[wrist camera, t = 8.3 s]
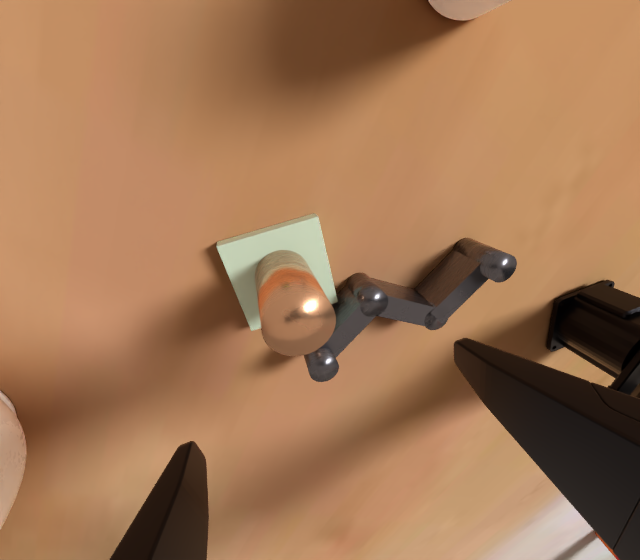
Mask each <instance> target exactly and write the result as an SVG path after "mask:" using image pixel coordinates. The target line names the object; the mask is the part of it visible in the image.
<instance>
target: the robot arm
mask: <svg viewBox="0 0 640 560" xmlns="http://www.w3.org/2000/svg"><path fill="white" fill-rule="evenodd" d="M613 287H614V282H613V281H610V280H606V281H603V282H600V283H597V284H595V285H592V286H589V287H587V288H584V289H581V290H579V291H576V292H573V293H571V294H568V295H565V296H562V297H560V298H558V299H557V300H556V301H555V303H554V308H553V313H552V319H551V325H550V331H549V336H548V342H547V349H548V350H550V351H555V350H558V349H560V348H563V347H566V348H567V349H569V350H571V351H572V352H574V353H575V354H577V355H579V356H580V357H582V358H583V359H585V360H587V361H588V362H590V363H592V364H593V365H595V366H596V367H598V368H600V369H601V370H603V371H604V372H606V373H608V374H609V375H611V376H613V377H614V378H616V379H615V380H614V382H613V383H612V384H611V385H610V386H608V387H604V386H601V385H598V384H595V383H590V382H589V381H587V380H584V379H581V378H578V377H575V376H573V375H570V374H567V373H564V372H561V371H559V370H556V369H553V368H550V367H547V366H545V365H542V364H539V363H536V362H533V361H530V360H528V359H525V358H522V357H519V356H516V355H514V354H511V353H508V352H505V351H502V350H499V349H497V348H494V347H491V346H488V345H485V344H483V343H480V342H477V341H474V340H471V339H468V338H463V339H460V340H457V341H455V342H454V361H455V363H456V365H457V367H458V368H459V370H460V371H461V372H462V374H463V375H464V377H465V378H466V379H467V381H468V382H469V384H470V385H471V386H472V388H473V389H474V391H475V392H476V393H477V395H478V396H479V398H480V399H481V400H482V402H483V403H484V404H485V405H486V407H487V408H488V409H489V410H490V411H491V413H492V414H493V415H494V416H495V417H496V418H497V419H498V421H499V422H500V423H501V424H502V425H503V426H504V427H505V429H506V430H507V431H508V432H509V433H510V434H511V435H512V437H513V438H514V439H515V440H516V441H517V442H518V443H519V445H520V446H521V447H522V448H523V449H524V450H525V451H526V453H527V454H528V455H529V456H530V457H531V458H532V459H533V461H534V462H535V463H536V464H537V465H538V466H539V467H540V469H541V470H542V471H543V472H544V473H545V474H546V476H547V477H548V478H549V479H550V480H551V481H552V482H553V484H554V485H555V486H556V487H557V488H558V489H559V490H560V492H561V493H562V494H563V495H564V496H565V497H566V498H567V500H568V501H569V502H570V503H571V504H572V505H573V506H574V508H575V509H576V510H577V511H578V512H579V513H580V514H581V516H582V517H583V518H584V519H585V520H586V521H587V522H588V524H589V525H590V526H591V527H592V528H593V529H594V530H595V532H596V533H597V534H598V535H599V536H600V537H601V539H602V540H603V541H604V542H605V543H606V544H607V545H608V547H609V548H610V549H612V550H613V553H614V554H615V555H616V556H617V557H618V558H619V559H620V560H640V298H638V297H636V296H633V295H631V294H628V293H625V292H623V291H620V290H618V289H615V288H613ZM208 520H209V514H208V489H207V468H206V459H205V456H204V455H203V453H202V452H201V450H200V449H199V447H198V446H197V444H196V443H195V442H194V441H190V442H188V443H185V444H182V445H180V446H179V447H178V448H177V450H176V452H175V453H174V455H173V457H172V458H171V460H170V461H169V463H168V465H167V466H166V468H165V470H164V471H163V473H162V475H161V476H160V478H159V479H158V481H157V483H156V484H155V486H154V488H153V489H152V491H151V493H150V494H149V496H148V497H147V499H146V501H145V502H144V504H143V506H142V507H141V509H140V511H139V512H138V514H137V515H136V517H135V519H134V520H133V522H132V524H131V525H130V527H129V529H128V530H127V532H126V533H125V535H124V537H123V538H122V540H121V542H120V543H119V545H118V547H117V548H116V550H115V551H114V553H113V555H112V556H111V558H110V560H206V559H207V541H208Z"/></svg>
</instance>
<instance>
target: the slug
mask: <svg viewBox="0 0 640 560" xmlns="http://www.w3.org/2000/svg"><path fill="white" fill-rule="evenodd" d="M255 283H256V291H257V299H258V307H259V314H260V322H261V330H262V335H263V338H264V340H265V342H266V344H267V345H268V346H269V347H270V348H271V349H272V350H274V351H275V352H277V353H279V354H282V355H286V356H302V355H306V354H309V353H312V352H314V351H316V350H317V349H319V348H320V347H322V346H323V345H324V344H325V343H326V342H327V341H328V340H329V338H330V337H331V335H332V334H333V331H334V329H335V324H336V315H335V311H334V309H333V307H332V305H331V303H330V301H329V300H328V298H327V296H326V295H325V293H324V291H323V290H322V288H321V286H320V284H319V283H318V281H317V279H316V278H315V276H314V274H313V272H312V271H311V269H310V267H309V266H308V264H307V262H306V261H305V259H304V258H303V257H302V256H301V255H299V254H298V253H296V252H293V251H290V250H278V251H274V252H271V253H269V254H268V255H266V256H265V257H264V258H263V259H262V260H261V261H260V262H259V264H258V265H257V268H256V271H255Z"/></svg>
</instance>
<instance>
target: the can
mask: <svg viewBox="0 0 640 560" xmlns="http://www.w3.org/2000/svg"><path fill="white" fill-rule="evenodd" d="M428 1H429V3H430V4H431V6H432V7H433V8H434V9H435V10H436V11H437V12H438V13H440V14H441V15H443V16H445V17H447V18H450V19H454V20H471V19H474V18H477V17H479V16H481V15H484V14H486V13H488V12H490V11H492V10H494V9H496V8H497V7H499V6H501V5H503V4H505V3H507V2H509V1H511V0H428Z"/></svg>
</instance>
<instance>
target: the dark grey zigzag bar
mask: <svg viewBox="0 0 640 560" xmlns="http://www.w3.org/2000/svg"><path fill="white" fill-rule="evenodd" d="M516 265H517V262H516V259H515V257H514V256H512V255H510V254H507V253H505V252H502V251H500V250H497V249H495V248H492V247H490V246H487V245H485V244H483V243H480V242H478V241H475V240H473V239H470V238H464V239H461V240H460V241H458V242H457V244H456V245H455V246H454V249H453V250H452V251H451V252H450V253H449V254H448V255H447V256H446V257H445V259H444V260H443V261H442V262H441V263H440V264H439V265H438V266H437V267H436V268H435V269H434V270H433V271H432V272H431V273H430V274H429V275H428V276H427V277H426V278H425V279H424V280H423V281H422V282H421V283H420V284H419V285H418V286H417V287H416V288H415V289H410V288H407V287H403V286H399V285H395V284H392V283H388V282H384V281H380V280H377V279H373V278H370V277H369V276H367V275H366V274H364V273H356V274H354V275H352V276H351V277H350V278H349V279H348V281H347V283H346V286H345V287H344V288H343V289H342V290H341V291H340V292H339V293H338V294H337V295H336V296H337V300H338V302H336V303H333V304H331V305H332V307H333V309H334V311H335V315H336V324H335V329H334V331H333V334H332V335H331V337H330V338H329V340H328V341H327V342H326V343H325V344H324V345H323V346H322V347H320V348H319V349H317V350H316V351H314V352H312V353H309V354H306V355H304V358H305V361H306V364H307V367H308V371H309V374H310V376H311V378H312V379H313V380H315V381H318V382H324V381H328V380H330V379H332V378H333V377H334V376H335V375H336V374H337V372H338V369H339V365H338V363H337V360H336V357H337V356H338V355H339V354H340V353H341V352H342V351H343V350H344V349H345V348H346V347H347V346H348V344H349V343H350V342H351V341H352V340H353V339H354V338H355V337H356V336H357V335H358V334H359V333H360V332H361V331H362V330H363V329H364V328H365V327H366V326H367V325H368V324H369V323H370V322H371V321H372V320H373V319H374V318H375V317H376V316H380V317H385V318H389V319H394V320H399V321H403V322H408V323H413V324H417V325H422V326H425V327H426V328H427V329H429V330H436V329H439V328H441V327H442V326H443V325H444V324H445V323H446V322H447V320H448V318H449V317H450V316H451V315H452V314H453V313H454V312H455V311H456V310H457V309H458V308H459V307H460V306H461V305H462V304H463V303H464V302H465V301H466V300H467V299H468V298H469V297H470V296H471V295H472V294H473V293H474V292H475V291H476V290H477V289H479V288H480V287H481V286H482V285H483V284H484V283H485V282H486V281H487V280H488V279H491V280H493V281H495V282H503V281H505V280H507V279H508V278H510V277H511V275H512V274H513V273H514V271H515V269H516Z"/></svg>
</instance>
